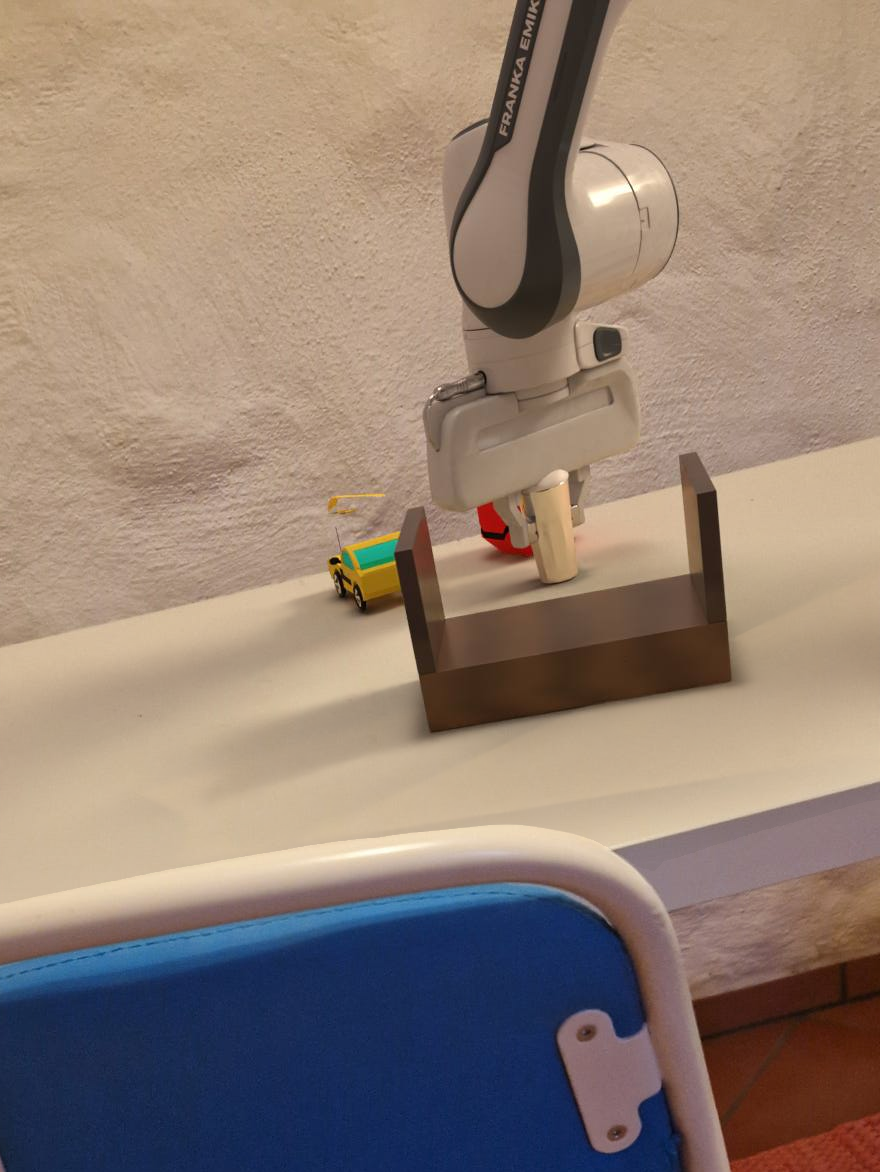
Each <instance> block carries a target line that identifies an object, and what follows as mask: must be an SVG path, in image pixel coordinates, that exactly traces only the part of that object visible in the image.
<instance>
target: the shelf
mask: <svg viewBox="0 0 880 1172" xmlns="http://www.w3.org/2000/svg"><path fill="white" fill-rule="evenodd" d="M678 462H679V472H680V473H679V474H680V482H681V494H682V495H681V496H682V503H683V515H684V527H685V535H686V536H685V539H686V547H687V549H686V550H687V558H688V570H689V573H687V574H686V573H685V574H681V575H676V576H670V577H665V578H660V579H654V580H648V581H643V582H638V583H631V584H627V585H626V584H625V585H621V586H614V587H610V588H604V589H599V590H594V591H587V592H583V593H577V594H572V595H566V596H562V597H561V596H560V597H556V598H551V599H545V600H540V601H534V602H530V603H523V604H518V605H512V606H506V607H502V608H497V609H491V610H486V611H480V612H479V611H478V612H474V613H468V614H463V615H457V616H452V617H447V618H446V616H445V610H444V606H443V605H444V604H443V600H442V595H441V588H440V585H439V584H440V583H439V578H438V572H437V567H436V563H435V558H434V557H435V556H434V552H433V551H434V550H433V545H432V541H431V536H430V530H429V526H428V520H427V514H426V509H425V505H421V506H416V507H411V508H407V510H406V512H405V516H404V519H403V522H402V526H401V528H400V530H399V531H400V535H399V538H398V541H397V544H396V547H395V550H394V557H395V562H396V567H397V572H398V577H399V582H400V587H401V590H400V591H401V595H402V601H403V607H404V611H405V616H406V620H407V625H408V631H409V636H410V641H411V645H412V650H413V655H414V656H413V657H414V660H415V666H416V671H417V675H418V681H419V685H420V691H421V695H422V700H423V704H424V708H425V709H424V710H425V715H426V720H427V725H428V730H429V732H430V733H433V732H439V731H445V730H450V729H457V728H462V727H469V726H474V725H480V724H486V723H492V722H498V721H504V720H510V719H516V718H522V717H526V716H527V717H528V716H533V715H539V714H546V713H552V712H556V711H562V710H568V709H569V710H570V709H574V708H575V709H576V708H580V707H587V706H592V705H597V704H604V703H611V702H615V701H621V700H626V699H627V700H629V699H632V698H640V697H645V696H651V695H656V694H657V695H658V694H662V693H668V692H673V691H674V692H675V691H681V690H687V689H691V688H698V687H703V686H711V685H716V684H722V683H727V682H732V680H733V679H732V678H733V675H732V664H731V652H730V651H731V650H730V641H729V627H728V617H727V615H728V614H727V603H726V591H725V590H726V589H725V579H724V566H723V565H724V564H723V554H722V553H723V552H722V541H721V528H720V527H721V526H720V515H719V505H718V503H719V502H718V491H717V488H716V487H715V485H714V483H713V481H712V479H711V477H710V475H709V473H708V471H707V470H706V467H705V465H704V464H703V461H702V460H701V458H700V456H699V454H698V452H697V451H692V452H688V453H682V454H679V455H678Z"/></svg>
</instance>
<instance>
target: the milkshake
mask: <svg viewBox="0 0 880 1172" xmlns="http://www.w3.org/2000/svg"><path fill="white" fill-rule="evenodd" d="M521 498H522V505H519V507H520V510H521V513H522V516H523V517H524V519H525V520H526V521H527V522H535V523H536V534H537V537H538V540H537V542H536V543H534V544H532V545H531V546H532V550H533V557H534V560H535V564H536V567H537V572H538V575H539V578H540V581H541V583H543V584H548V585H549V584H550V585H551V584H557V583H562V582H565V581H569V580H571V579H572V578H574V577H575V576H577V575H579V572H578V570H579V569H578V560H577V551H576V542H575V534H574V528H573V525H572V515H571V498H570V486H569V474H568V472H566V471H564V470H555V471H553V472H552V473H550V474H548V475H547V476H546V477H544V478H543V480H542V481H541V482H539V483H538V484H537V485H535V486H532V487H529V488H527V489H524V490H522V491H521Z"/></svg>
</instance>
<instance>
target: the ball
mask: <svg viewBox="0 0 880 1172" xmlns="http://www.w3.org/2000/svg"><path fill="white" fill-rule="evenodd" d="M517 508H518V509H519V511H520V512H521V510H520V507H519V506H517ZM476 511H477V512H476V513H477V517H478V523H479V526H480V536H481V538H482V539H483V540H485V541H487V543H489V544H490V545H491V546H493V548H494V547H495V549H497V550H498V551H500V552H501V553H502V554H508V555H516V556H523V557H530V556H534V554H533V550H532V546H531V545H530V546H527V547H525V548H515V547H514V546H513V545H512V543H511V538H510V532H509V526H507V525H506V524H505V522H504V521H503V520H502V518H501V517H500V516H499V515H498V513H497V512H496V511H495V509H494V507H493V502H490V503H487V504H485V505H482V506H480V507H477V508H476ZM521 514H522V513H521Z"/></svg>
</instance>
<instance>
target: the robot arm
mask: <svg viewBox="0 0 880 1172" xmlns="http://www.w3.org/2000/svg"><path fill="white" fill-rule="evenodd" d="M631 2H632V0H516V3H515V4H516V5H515V7H514V11H513V16H512V20H511V25H510V29H509V34H508V37H507V42H506V46H505V50H504V54H503V58H502V63H501V66H500V71H499V75H498V80H497V83H496V88H495V92H494V96H493V100H492V105H491V109H490V114H489V117H487V118H482V119H480V120H478V121H476V122H474V123H472V124H470V125H468V126H466V127H465V128H462V130H460V131H459V132H458V133H457V134H455V135H454V136H453V137H452V139H451V140H450V142H449V143H448V144H447V145H446V147H445V150H444V152H443V153H444V154H443V161H442V172H441V191H442V206H443V215H444V216H443V217H444V224H445V232H446V233H445V234H446V238H447V245H448V251H449V252H448V253H449V254H448V255H449V264H450V271H451V274H452V278H453V281H454V284H455V287H456V289H457V291H458V294H459V295H460V297H461V300H462V301H461V302H462V309H461V321H460V324H461V333H462V337H463V343H464V349H465V354H466V362H467V368H468V375H467V376H464V377H461V378H460V379H458V380H455V381H452V382H446V383H442V384H440V385H438V386H436V387H435V388H434V389H433V391H432V394H431V395H430V396H429V397H428V398H427V400H426V401H425V403H424V407H423V408H422V422H423V428H424V434H425V438H426V439H425V440H426V444H425V445H426V462H427V475H428V484H429V492H430V495H431V496H430V497H431V500H432V502H433V503H434V505H436V506H437V507H438V508H439V509H440V510H441V511H443V512H452V513H466V512H468V511H471V510H475V509H477V507H480V506H482V505H485V504H487V503H490V502H493V507H494V509H495V511H496V512H497V513H498V515H499V516H500V517H501V518H502V520H503V521H504V522H505V524H506V525H507V526H509V532H510V538H511V543H512V545H513V546H514V547H515V548H525V547H527V546H530V545H532V544H534V543H536V542H537V540H538V537H537V534H536V523H535V522H527V521H526V520H525V519H524V517H523V516H522V514H521V512H520V511H519V509H518V508H517V506H519V505H522V498H521V491H522V490H524V489H527V488H529V487H532V486H535V485H537V484H538V483H539V482H541V481H542V480H543V478H544V477H546V476H547V475H548V474H550V473H552V472H553V471H555V470H564V471H566V472H568V474H569V486H570V498H571V515H572V525H573V529H575V528H577V527H579V526H582V525H584V524H585V522H586V516H585V509H584V503H585V500H586V497H587V493H588V491H589V486H590V483H591V480H592V475H591V466H590V465H592V464H595V463H598V462H600V461H602V460H606V459H608V458H611V457H614V456H616V455H619V454H621V453H624V452H626V451H628V450H631V449H635V448H636V447H637V444H638V443H639V440H640V437H641V434H642V430H643V422H642V420H643V419H642V408H641V402H640V401H641V400H640V394H639V387H638V382H637V378H636V373H635V370H634V367H633V365H632V364H631V363H630V361H629V360H628V359H626V358H625V356H626V355H628V354H629V352H630V350H631V337H630V332H629V331H630V330H629V329H628V328H627V327H626V326H624V325H619V324H610V323H602V322H594V321H587V320H579V319H578V318H577V316H576V315H577V314H579V313H582V312H584V311H586V310H589V309H592V308H595V307H597V306H600V305H603V304H605V303H607V302H609V301H611V300H613V299H615V298H618V297H622V296H623V295H626V294H629V293H631V292H634V291H636V290H638V289H639V288H641V287H642V286H644V285H646V284H647V283H649V282H650V281H651V280H653V279H655V278H656V277H657V276H658V275H659V274H660V273H662V271H663V270H664V269H665V267H666V266H667V264H668V263H669V261H670V259H671V257H672V256H673V255H672V254H673V252H674V250H675V247H676V243H677V240H678V234H679V227H680V206H679V205H680V204H679V198H678V193H677V190H676V187H675V183H674V181H673V178H672V176H671V174H670V172H669V170H668V169H667V167H666V166H665V163H663V161H662V160H661V158H659V156H657V154H655V153H654V152H653V151H652V150H650V149H649V148H647V147H646V146H642V145H640V144H635V143H621V142H616V141H609V140H603V139H598V138H593V137H588V136H585V130H586V127H587V123H588V121H589V120H588V119H589V116H590V113H591V112H590V111H591V109H592V105H593V101H594V99H595V94H596V91H597V87H598V83H599V80H600V76H601V74H602V73H601V72H602V69H603V65H604V61H605V58H606V54H607V50H608V47H609V45H610V41H611V38H612V36H613V34H614V33H615V29H616V27H617V25H618V24H619V22H620V20H621V18H622V16H623V14H624V12H625V11H626V10H627V8H628V6H629V5H630V3H631ZM434 401H436V402H434ZM433 402H434V403H433Z"/></svg>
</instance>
